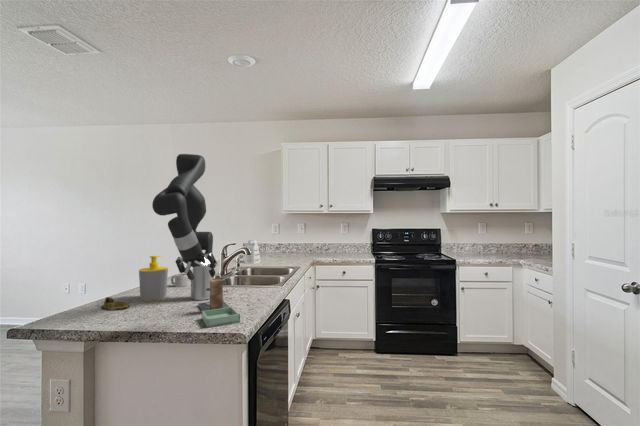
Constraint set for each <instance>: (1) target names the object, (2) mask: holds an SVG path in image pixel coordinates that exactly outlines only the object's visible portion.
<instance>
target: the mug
mask: <svg viewBox="0 0 640 426" xmlns="http://www.w3.org/2000/svg"><path fill="white" fill-rule="evenodd" d="M170 282H171V284H172V285H174V287H175V288H184V287H187V286H188V276H187V274H186V273H179V274H175V275H173V276H171V279H170Z"/></svg>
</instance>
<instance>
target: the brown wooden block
mask: <svg viewBox="0 0 640 426" xmlns="http://www.w3.org/2000/svg"><path fill="white" fill-rule="evenodd" d="M223 288H224V281H223V279H221V278H217V279H212V280H210V299H209V301H210V308H211V310H213V309H220V308H223V301H224V299H223V295H224V294H223V293H224V289H223Z"/></svg>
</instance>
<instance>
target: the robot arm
mask: <svg viewBox="0 0 640 426" xmlns="http://www.w3.org/2000/svg"><path fill="white" fill-rule="evenodd" d="M175 165H176V171H177V176H175V177H174V178H173V179H172V180H171V181H170V182H169V184H168V185H167V187H165V188H164V189H163V190H161V191H160V192H159V193H157V194H156V195H155V197H154V198H153V201H152V204H151V205H152V210H153V212H154V213H155V214H156V215H158V216H167V215H168V216H169V215H174V214H175V215H177V216H175V217H173V218H171V219H170V220H169V221H168V223H167V227H168V229H169V232H170V234H171V236H172V238H173V242H174V243H175V246H176V248H177V251H178V252H179V255H180V256H178V257H177V258H176V260H175V264H176V267H177V269H178V271H179V274H187V279H188V280H190V300H195V301H204V300H205V301H206V300H210V291H207V290H206V289H208V288H210V280H213V278H214V277H215V275H216V273H217V272H216V270H215V268H216V266H217V265H218V262H217V259H216V258H215V256H214V254H213V247H214V235H213V233H212V232H211V231H197V228H198V227H199V224H200V223H201V222H202V220H203V219H204V218H205V216H206V213H207V205H206V204H207V203H206V199H205V197H204V195H203V194H202V193H201V192H200V190H199V189H197V186H196V185H195V184H196V183H197V182H198V181H199V180H200V179H201V178H202V176H203V175H204V174H205V172H206V160H205V157H204V156H203V155H200V154H193V153H192V154H190V153H179V154H178V155H177V156H176V160H175ZM203 251H204V252H203ZM184 263H185V264H186V267H185V265H184ZM191 268H192V269H191Z"/></svg>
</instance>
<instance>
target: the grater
mask: <svg viewBox="0 0 640 426" xmlns="http://www.w3.org/2000/svg"><path fill="white" fill-rule="evenodd" d="M252 241H253V242H254V244H251V242H252ZM246 248H248V249H250V251H251V252H252V254H251V255H246V254H245V256H244V264H251V265H254V264H255V265H256V264H259V263H261V261H262V260H261V255H260V254H261V253H260V247H259V245H258V241H257V240H247V245H246Z"/></svg>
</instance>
